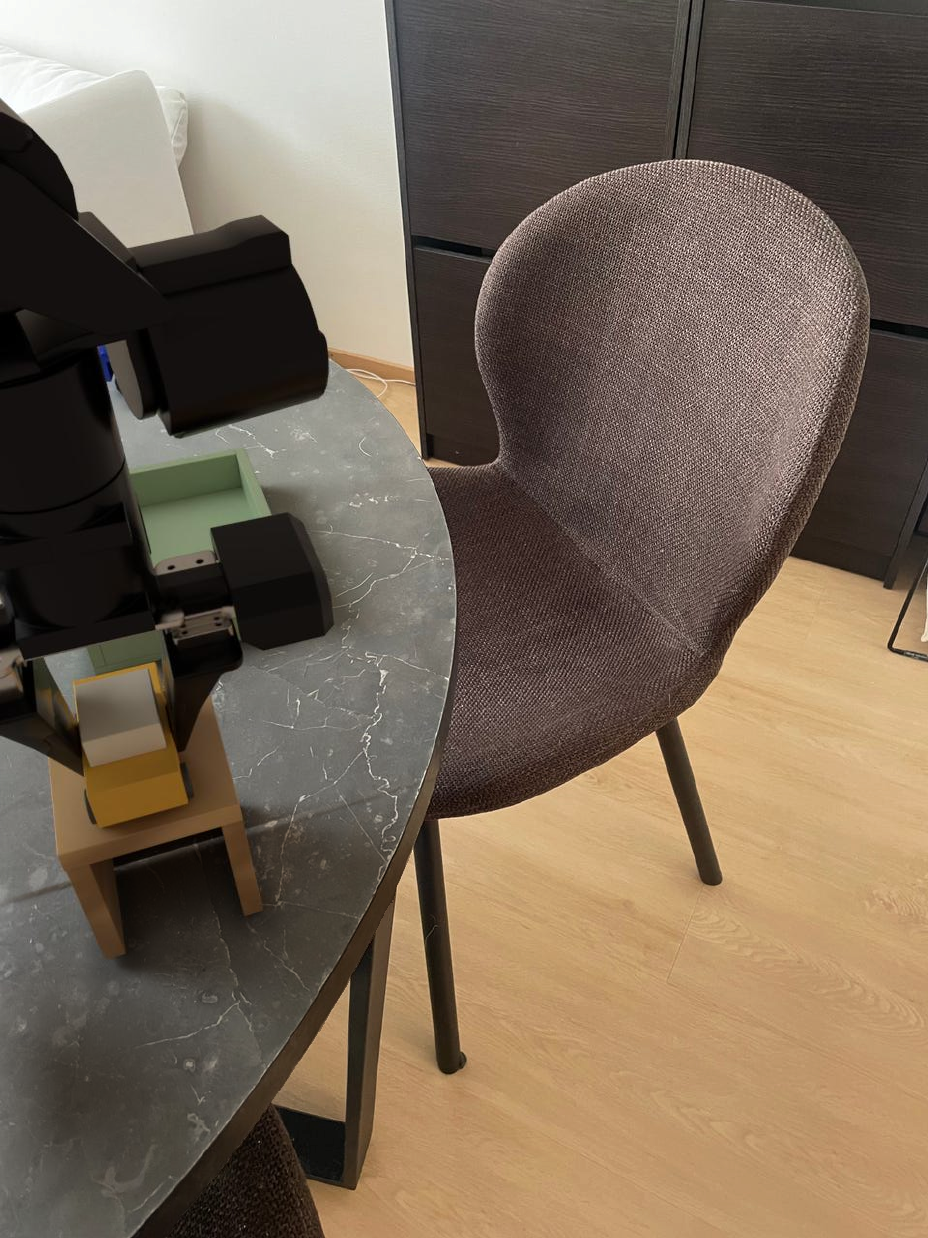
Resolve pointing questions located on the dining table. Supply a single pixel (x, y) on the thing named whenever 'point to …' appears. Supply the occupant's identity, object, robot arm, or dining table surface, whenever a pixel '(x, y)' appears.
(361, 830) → the dining table surface
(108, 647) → the green box
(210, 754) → the oak stand
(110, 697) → the small car
